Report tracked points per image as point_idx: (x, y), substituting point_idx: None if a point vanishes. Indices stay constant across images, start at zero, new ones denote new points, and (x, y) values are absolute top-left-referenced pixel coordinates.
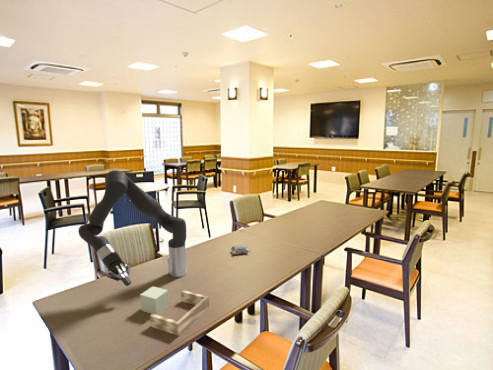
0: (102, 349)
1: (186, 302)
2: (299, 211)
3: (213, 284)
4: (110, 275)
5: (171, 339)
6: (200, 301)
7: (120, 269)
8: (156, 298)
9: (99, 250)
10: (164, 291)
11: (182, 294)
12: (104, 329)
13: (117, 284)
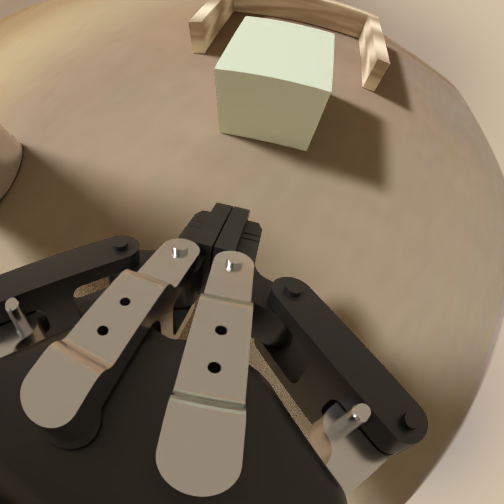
0: (484, 187)
1: (211, 41)
2: None
3: (98, 39)
4: (397, 400)
5: None
6: None
7: (155, 365)
8: (329, 32)
9: None
10: (261, 21)
11: (204, 27)
12: (447, 238)
13: None
